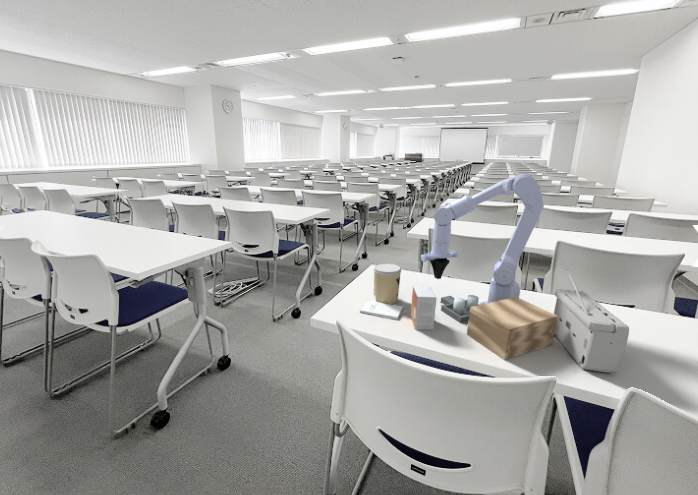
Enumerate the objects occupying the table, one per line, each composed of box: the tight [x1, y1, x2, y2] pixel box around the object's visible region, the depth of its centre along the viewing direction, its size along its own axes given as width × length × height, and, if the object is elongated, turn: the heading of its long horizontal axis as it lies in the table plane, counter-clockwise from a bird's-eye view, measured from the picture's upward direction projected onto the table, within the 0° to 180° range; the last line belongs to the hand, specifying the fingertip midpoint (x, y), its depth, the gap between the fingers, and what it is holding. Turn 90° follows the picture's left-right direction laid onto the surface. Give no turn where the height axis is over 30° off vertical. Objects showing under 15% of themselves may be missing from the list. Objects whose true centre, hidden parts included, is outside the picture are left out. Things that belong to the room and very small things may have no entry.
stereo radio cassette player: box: [553, 267, 630, 374], centre depth 84 cm, size 21×8×20 cm, turn 170°
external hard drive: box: [359, 300, 404, 321], centre depth 107 cm, size 2×8×12 cm
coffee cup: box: [373, 263, 402, 305], centre depth 113 cm, size 9×9×12 cm
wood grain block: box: [466, 297, 558, 361], centre depth 90 cm, size 18×13×9 cm
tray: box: [440, 294, 480, 324], centre depth 108 cm, size 12×14×5 cm
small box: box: [410, 285, 437, 331], centre depth 98 cm, size 8×6×10 cm
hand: (437, 278), depth 117 cm, fingers closed
